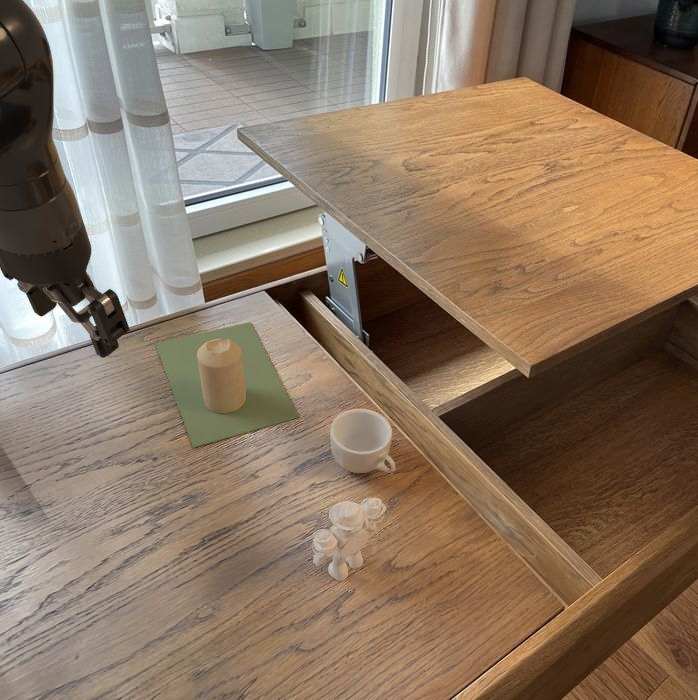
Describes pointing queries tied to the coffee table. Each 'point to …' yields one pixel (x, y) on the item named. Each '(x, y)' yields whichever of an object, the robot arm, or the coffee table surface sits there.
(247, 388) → the desk mat
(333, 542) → the hat wearing toy figure
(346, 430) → the teacup
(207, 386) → the candle
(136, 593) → the coffee table surface
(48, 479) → the coffee table surface
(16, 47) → the robot arm
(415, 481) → the coffee table surface
